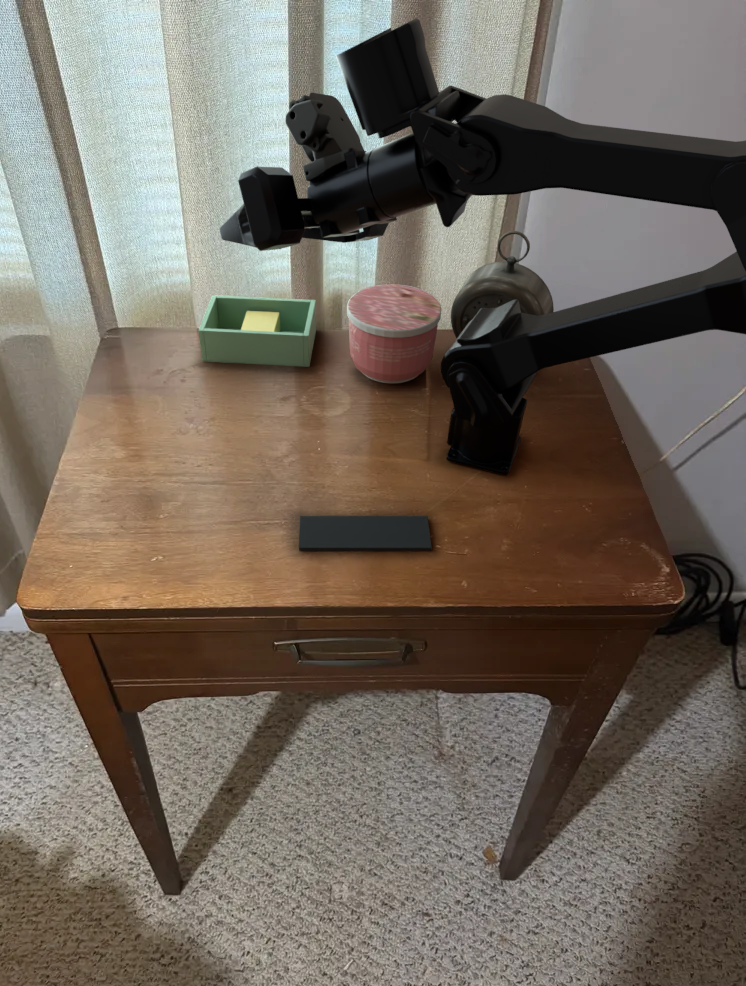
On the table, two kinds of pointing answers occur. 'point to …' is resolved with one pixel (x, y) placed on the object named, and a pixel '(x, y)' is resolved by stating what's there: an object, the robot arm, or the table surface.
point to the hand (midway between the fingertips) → (252, 231)
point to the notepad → (261, 321)
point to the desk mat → (364, 533)
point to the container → (392, 331)
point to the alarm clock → (501, 289)
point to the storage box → (258, 347)
